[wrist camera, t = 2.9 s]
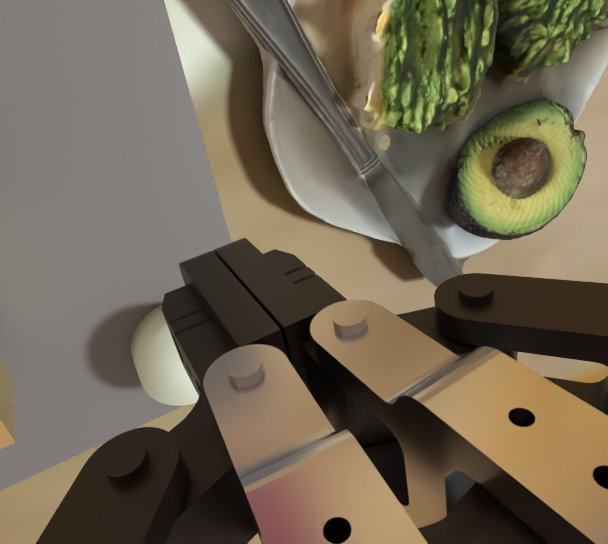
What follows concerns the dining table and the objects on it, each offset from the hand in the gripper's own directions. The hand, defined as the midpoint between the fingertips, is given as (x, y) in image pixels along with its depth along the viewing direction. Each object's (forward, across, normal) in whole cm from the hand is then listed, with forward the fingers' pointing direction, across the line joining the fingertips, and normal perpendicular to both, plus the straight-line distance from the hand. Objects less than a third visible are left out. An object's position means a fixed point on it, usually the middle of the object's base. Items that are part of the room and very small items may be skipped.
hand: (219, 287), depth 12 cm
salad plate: (+10, -14, 0) cm, 17 cm away
